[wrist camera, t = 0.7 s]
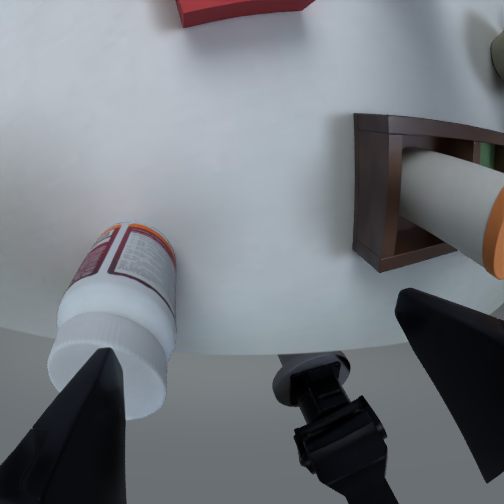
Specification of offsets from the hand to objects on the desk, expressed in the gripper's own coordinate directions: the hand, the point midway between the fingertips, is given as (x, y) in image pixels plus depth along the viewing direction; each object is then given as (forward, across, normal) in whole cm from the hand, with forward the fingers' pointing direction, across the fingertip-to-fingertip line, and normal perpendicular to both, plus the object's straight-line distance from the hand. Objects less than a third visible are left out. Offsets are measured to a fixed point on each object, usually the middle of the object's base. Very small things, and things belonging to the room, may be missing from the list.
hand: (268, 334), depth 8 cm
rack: (+13, -20, -1) cm, 24 cm away
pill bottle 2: (+12, -16, -1) cm, 20 cm away
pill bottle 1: (+13, +6, +3) cm, 15 cm away
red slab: (+13, -2, -16) cm, 21 cm away
